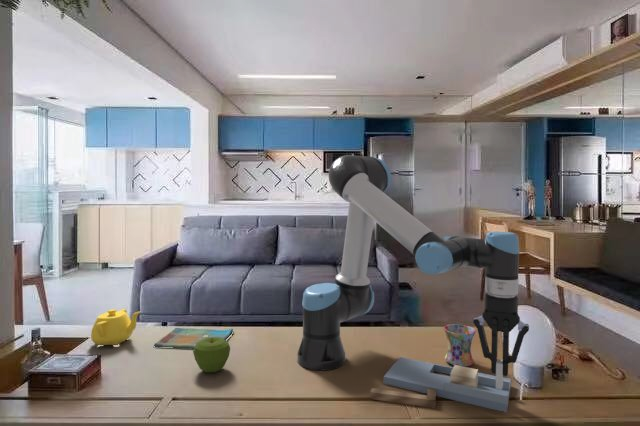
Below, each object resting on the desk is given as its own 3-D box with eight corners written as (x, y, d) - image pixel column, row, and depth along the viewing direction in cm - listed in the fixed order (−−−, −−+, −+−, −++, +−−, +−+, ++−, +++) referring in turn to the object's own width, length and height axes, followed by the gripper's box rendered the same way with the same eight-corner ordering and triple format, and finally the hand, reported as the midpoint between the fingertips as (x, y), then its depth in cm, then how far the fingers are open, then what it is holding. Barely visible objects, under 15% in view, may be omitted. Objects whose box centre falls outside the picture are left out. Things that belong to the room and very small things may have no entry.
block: (450, 388, 104) (450, 373, 104) (454, 379, 110) (454, 364, 110) (474, 394, 102) (474, 378, 101) (477, 384, 107) (478, 369, 107)
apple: (186, 371, 120) (186, 338, 119) (217, 360, 127) (216, 329, 127) (206, 382, 112) (205, 347, 112) (237, 370, 120) (237, 337, 119)
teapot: (99, 354, 132) (97, 319, 131) (85, 343, 142) (84, 310, 141) (142, 343, 142) (141, 310, 141) (126, 333, 152) (125, 302, 151)
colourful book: (219, 352, 135) (219, 344, 135) (152, 349, 137) (152, 342, 137) (235, 334, 152) (235, 327, 152) (175, 332, 155) (175, 325, 154)
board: (383, 383, 112) (383, 369, 111) (400, 363, 125) (400, 350, 125) (506, 412, 97) (507, 396, 97) (510, 386, 110) (511, 371, 110)
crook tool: (370, 399, 103) (370, 392, 103) (373, 388, 109) (373, 381, 109) (435, 408, 99) (435, 400, 99) (435, 396, 105) (435, 389, 105)
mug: (477, 370, 120) (478, 335, 119) (445, 367, 122) (445, 333, 121) (470, 354, 132) (470, 322, 131) (440, 352, 133) (441, 320, 133)
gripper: (471, 294, 100) (469, 387, 101) (530, 301, 94) (528, 399, 95) (475, 288, 107) (473, 375, 108) (531, 293, 100) (528, 386, 102)
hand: (499, 386), depth 102 cm, fingers closed
